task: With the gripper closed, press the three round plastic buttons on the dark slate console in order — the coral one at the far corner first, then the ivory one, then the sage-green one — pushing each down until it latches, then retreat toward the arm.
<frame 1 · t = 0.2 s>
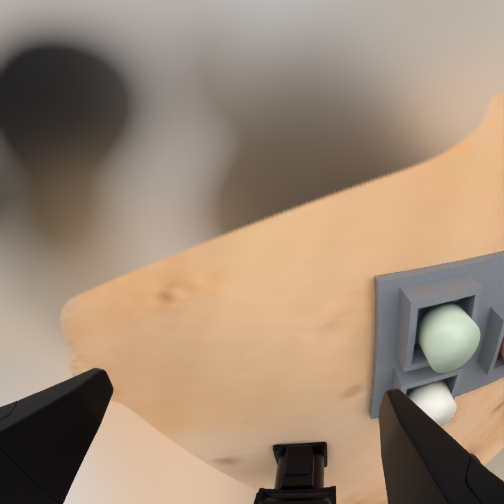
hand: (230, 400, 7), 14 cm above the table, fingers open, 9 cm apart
console: (466, 335, 20), on the table
button ivory: (430, 407, 18), point 4 cm above the table, slide at 0.0 cm
button sage: (448, 337, 16), point 4 cm above the table, slide at 0.0 cm
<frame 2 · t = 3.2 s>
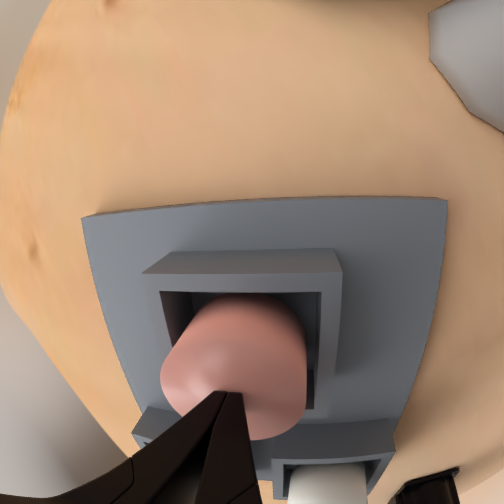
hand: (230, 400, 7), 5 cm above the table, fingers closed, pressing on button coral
console: (262, 389, 14), on the table
button ivory: (327, 493, 11), point 4 cm above the table, slide at 0.0 cm
button coral: (239, 368, 9), point 4 cm above the table, slide at 0.3 cm, touching gripper
flask: (482, 64, 7), on the table
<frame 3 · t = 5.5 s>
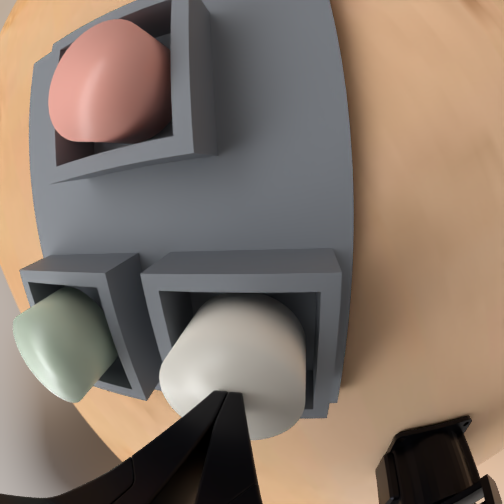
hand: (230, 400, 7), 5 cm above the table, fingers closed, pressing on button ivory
console: (158, 206, 12), on the table
button ivory: (238, 368, 9), point 4 cm above the table, slide at 0.3 cm, touching gripper
button sage: (64, 344, 10), point 4 cm above the table, slide at 0.0 cm
button coral: (115, 85, 8), point 3 cm above the table, slide at 1.6 cm
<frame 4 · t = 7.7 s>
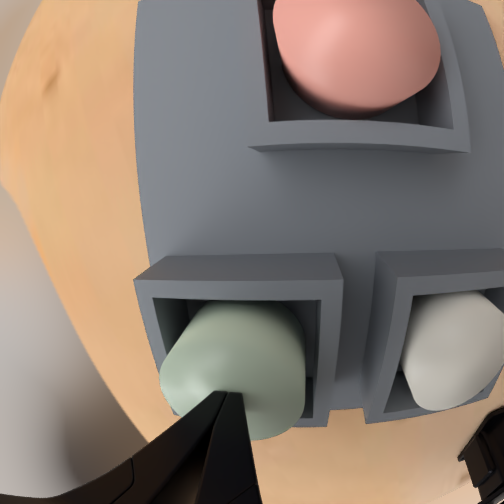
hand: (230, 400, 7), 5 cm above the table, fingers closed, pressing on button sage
console: (350, 198, 10), on the table
button ivory: (451, 343, 8), point 3 cm above the table, slide at 1.6 cm
button sage: (238, 369, 9), point 4 cm above the table, slide at 0.8 cm, touching gripper
button coral: (352, 44, 6), point 3 cm above the table, slide at 1.6 cm
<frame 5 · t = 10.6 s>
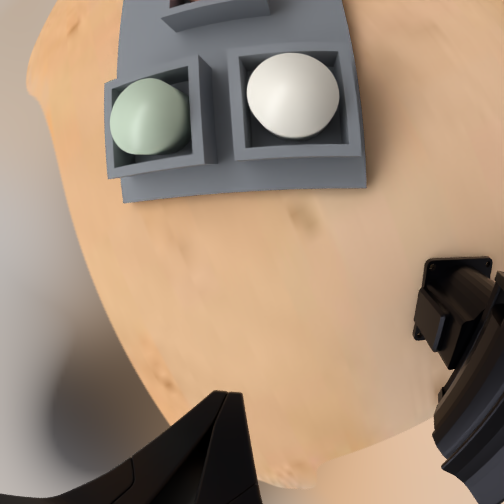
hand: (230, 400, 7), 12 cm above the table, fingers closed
console: (226, 48, 15), on the table
button ivory: (293, 99, 13), point 3 cm above the table, slide at 1.6 cm
button sage: (153, 118, 14), point 3 cm above the table, slide at 1.6 cm
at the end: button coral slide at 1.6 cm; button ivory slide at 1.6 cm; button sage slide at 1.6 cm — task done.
